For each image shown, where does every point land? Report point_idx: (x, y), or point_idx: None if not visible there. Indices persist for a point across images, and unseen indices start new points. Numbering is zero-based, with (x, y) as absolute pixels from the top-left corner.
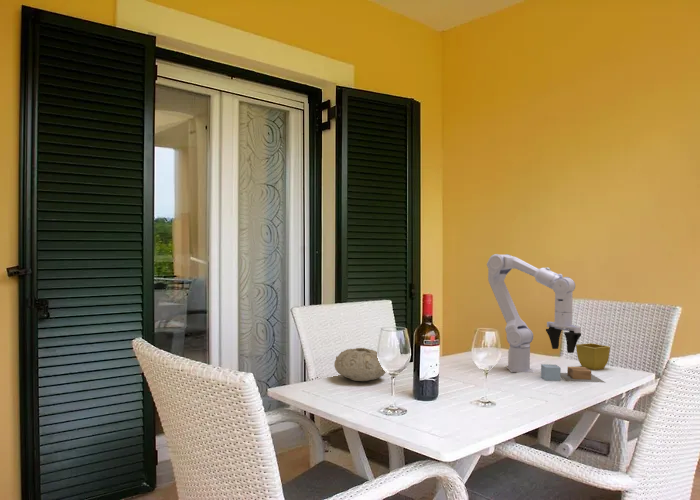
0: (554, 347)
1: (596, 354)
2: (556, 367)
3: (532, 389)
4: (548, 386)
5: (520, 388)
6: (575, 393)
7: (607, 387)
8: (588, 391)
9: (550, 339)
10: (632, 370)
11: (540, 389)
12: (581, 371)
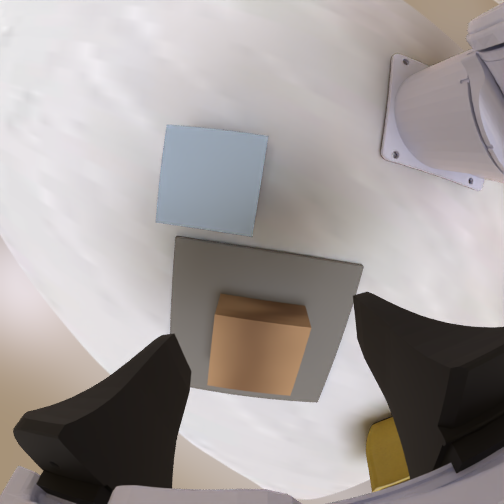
0: (356, 310)
1: (369, 474)
2: (161, 198)
3: (71, 43)
4: (104, 116)
5: (91, 5)
6: (23, 189)
7: (116, 353)
8: (49, 252)
9: (411, 317)
10: (346, 488)
11: (67, 71)
12: (211, 346)
